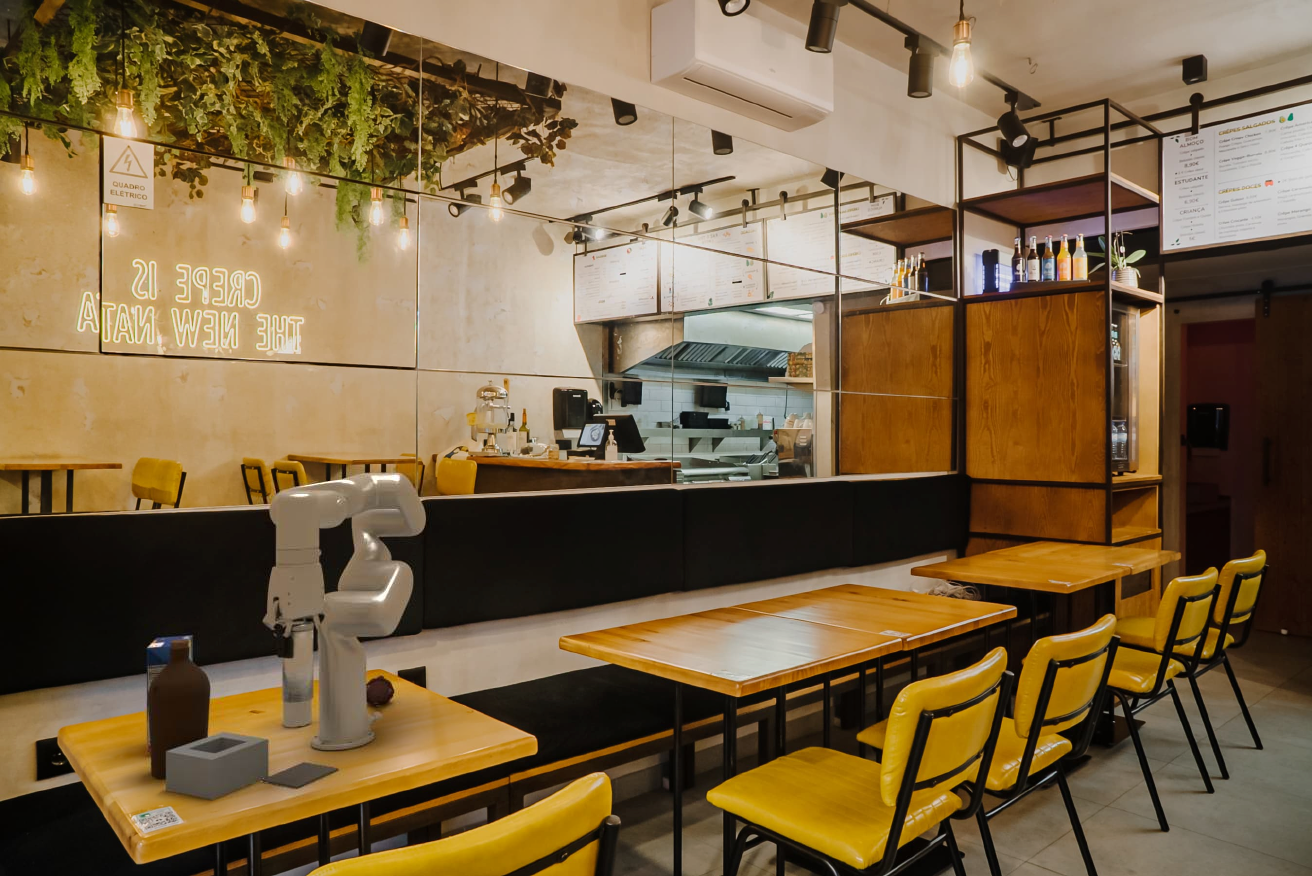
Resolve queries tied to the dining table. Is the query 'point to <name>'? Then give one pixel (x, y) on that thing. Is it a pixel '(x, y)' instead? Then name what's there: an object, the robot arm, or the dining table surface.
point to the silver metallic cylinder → (299, 664)
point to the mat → (300, 775)
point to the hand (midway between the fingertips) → (297, 653)
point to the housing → (216, 765)
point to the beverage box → (160, 666)
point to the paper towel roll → (297, 713)
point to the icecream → (379, 691)
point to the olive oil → (177, 706)
